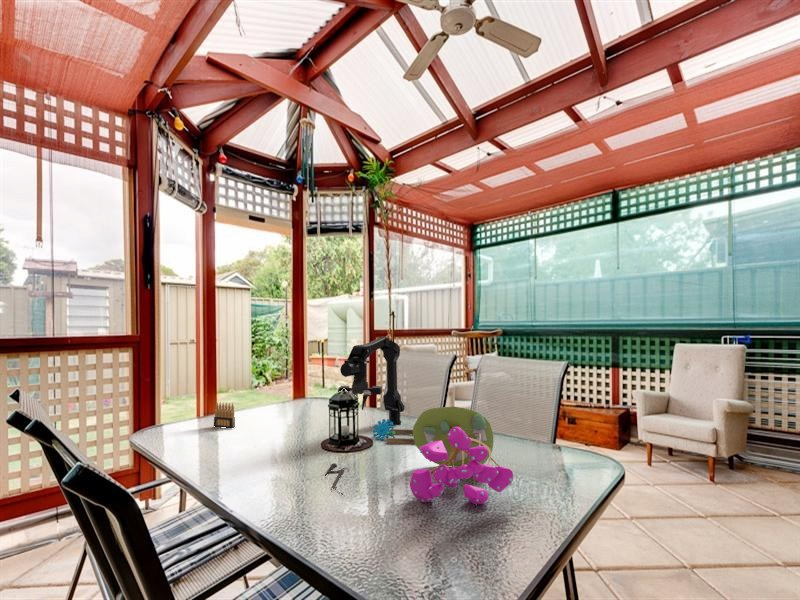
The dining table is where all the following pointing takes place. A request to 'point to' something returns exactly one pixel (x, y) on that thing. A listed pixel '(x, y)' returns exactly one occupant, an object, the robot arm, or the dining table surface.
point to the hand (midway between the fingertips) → (360, 410)
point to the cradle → (401, 440)
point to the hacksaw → (335, 472)
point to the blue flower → (384, 429)
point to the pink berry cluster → (456, 454)
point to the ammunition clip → (224, 416)
